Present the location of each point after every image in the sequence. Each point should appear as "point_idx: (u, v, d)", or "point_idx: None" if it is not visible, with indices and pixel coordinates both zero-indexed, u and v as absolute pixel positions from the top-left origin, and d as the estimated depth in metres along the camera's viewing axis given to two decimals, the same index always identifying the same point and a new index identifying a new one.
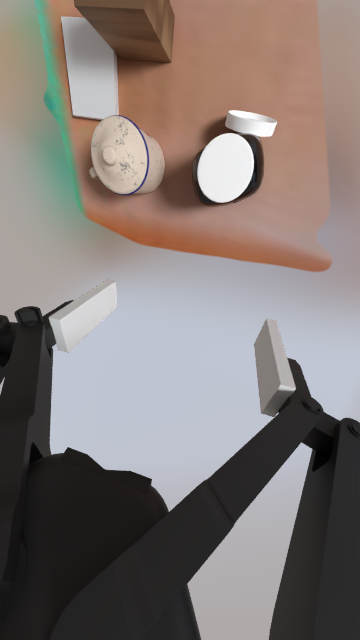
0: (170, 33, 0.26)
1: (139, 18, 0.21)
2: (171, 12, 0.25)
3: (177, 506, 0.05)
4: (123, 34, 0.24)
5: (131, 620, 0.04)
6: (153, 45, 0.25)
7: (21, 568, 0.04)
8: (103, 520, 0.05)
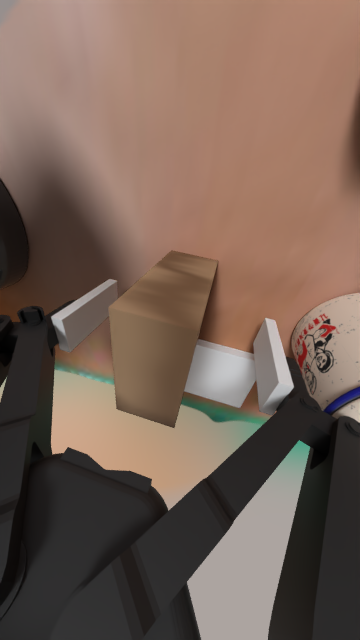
0: (190, 259, 0.15)
1: None
2: (171, 255, 0.15)
3: (176, 505, 0.05)
4: None
5: (131, 619, 0.04)
6: (209, 293, 0.14)
7: (21, 569, 0.04)
8: (103, 520, 0.05)
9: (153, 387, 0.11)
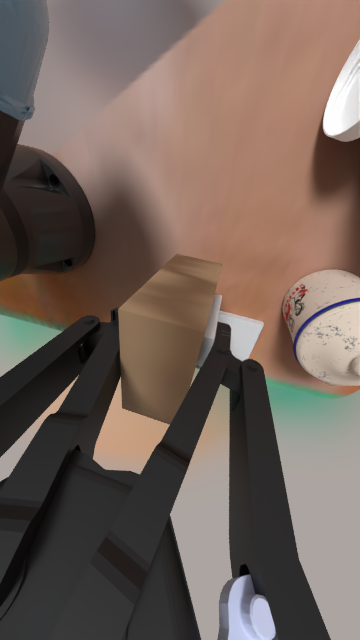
0: (195, 262, 0.16)
1: None
2: (176, 258, 0.16)
3: (139, 477, 0.06)
4: None
5: (125, 588, 0.04)
6: None
7: (12, 593, 0.04)
8: (103, 519, 0.05)
9: (159, 387, 0.11)
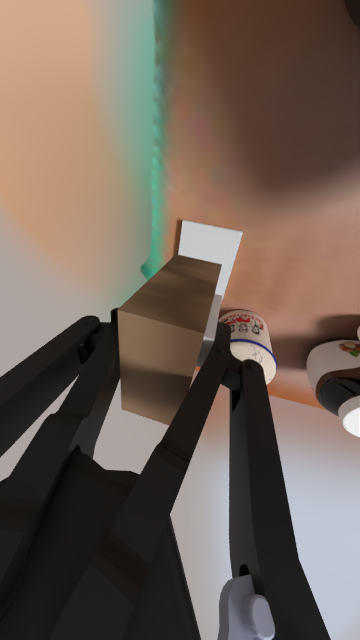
0: (195, 262, 0.16)
1: None
2: (176, 259, 0.16)
3: (139, 477, 0.06)
4: None
5: (125, 588, 0.04)
6: None
7: (12, 593, 0.04)
8: (103, 520, 0.05)
9: (158, 388, 0.11)
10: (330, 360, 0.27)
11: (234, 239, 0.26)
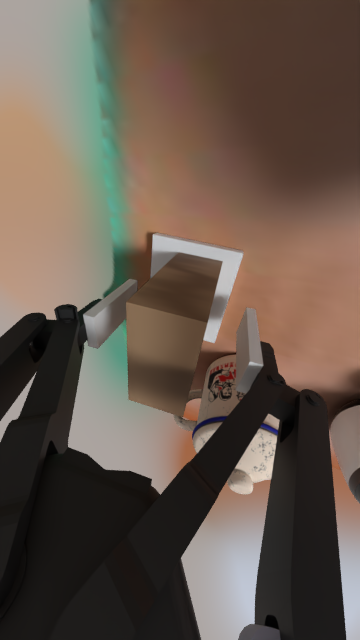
0: (197, 259, 0.16)
1: None
2: (178, 256, 0.16)
3: (164, 492, 0.06)
4: None
5: (130, 606, 0.04)
6: None
7: (19, 577, 0.04)
8: (103, 520, 0.05)
9: (164, 377, 0.12)
10: None
11: (230, 263, 0.17)
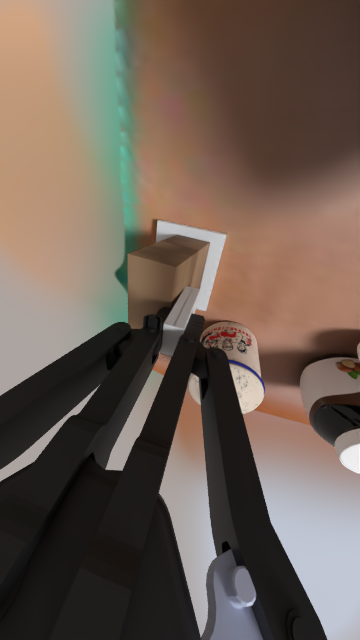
0: (189, 239, 0.21)
1: (180, 276, 0.16)
2: (175, 236, 0.22)
3: (122, 473, 0.06)
4: None
5: (120, 579, 0.04)
6: (198, 261, 0.19)
7: (6, 604, 0.04)
8: (103, 520, 0.05)
9: (151, 313, 0.17)
10: (325, 381, 0.24)
11: (217, 243, 0.22)
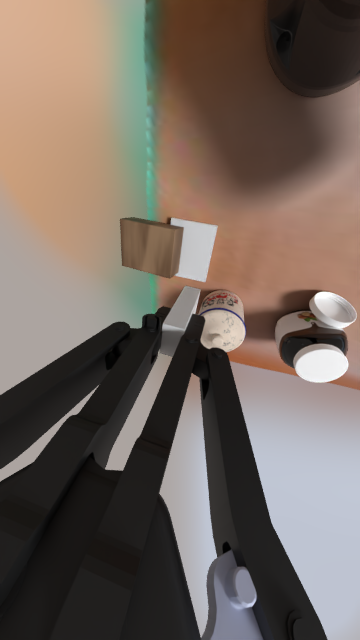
0: (173, 227, 0.32)
1: (127, 227, 0.33)
2: (176, 226, 0.33)
3: (122, 474, 0.06)
4: (142, 252, 0.34)
5: (120, 579, 0.04)
6: (152, 233, 0.32)
7: (6, 604, 0.04)
8: (103, 519, 0.05)
9: None
10: (289, 325, 0.34)
11: (211, 231, 0.33)
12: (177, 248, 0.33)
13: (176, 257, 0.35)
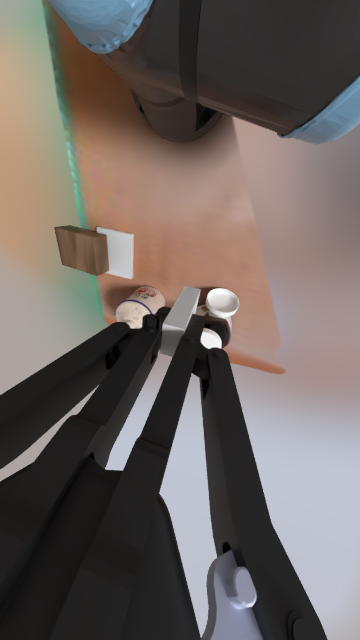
0: (95, 234, 0.40)
1: (60, 234, 0.41)
2: (100, 233, 0.42)
3: (122, 473, 0.06)
4: (74, 254, 0.42)
5: (120, 579, 0.04)
6: (78, 239, 0.40)
7: (6, 604, 0.04)
8: (103, 520, 0.05)
9: None
10: None
11: (127, 238, 0.41)
12: (100, 251, 0.42)
13: (102, 259, 0.43)
